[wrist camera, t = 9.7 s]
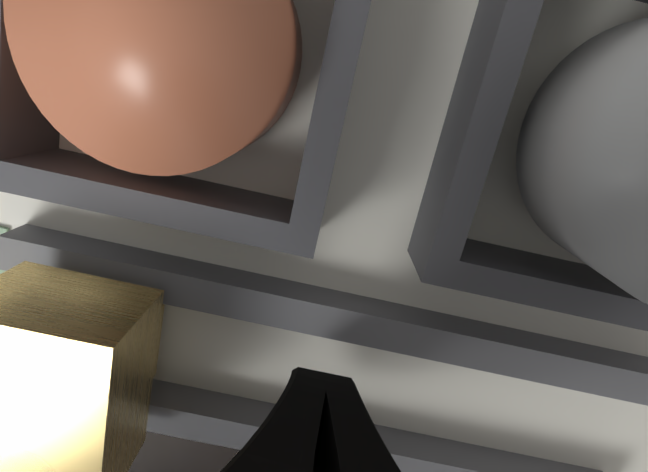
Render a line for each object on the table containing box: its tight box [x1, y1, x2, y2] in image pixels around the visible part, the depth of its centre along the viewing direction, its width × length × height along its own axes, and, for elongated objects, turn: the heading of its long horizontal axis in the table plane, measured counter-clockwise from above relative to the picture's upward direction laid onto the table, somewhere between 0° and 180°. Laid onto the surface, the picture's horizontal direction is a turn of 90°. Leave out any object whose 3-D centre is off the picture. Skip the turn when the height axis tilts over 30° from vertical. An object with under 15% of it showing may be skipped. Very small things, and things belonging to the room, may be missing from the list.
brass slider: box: [0, 261, 165, 472], centre depth 10 cm, size 4×3×4 cm
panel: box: [0, 0, 648, 472], centre depth 11 cm, size 14×32×4 cm, turn 78°
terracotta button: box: [3, 0, 302, 176], centre depth 9 cm, size 5×5×2 cm
